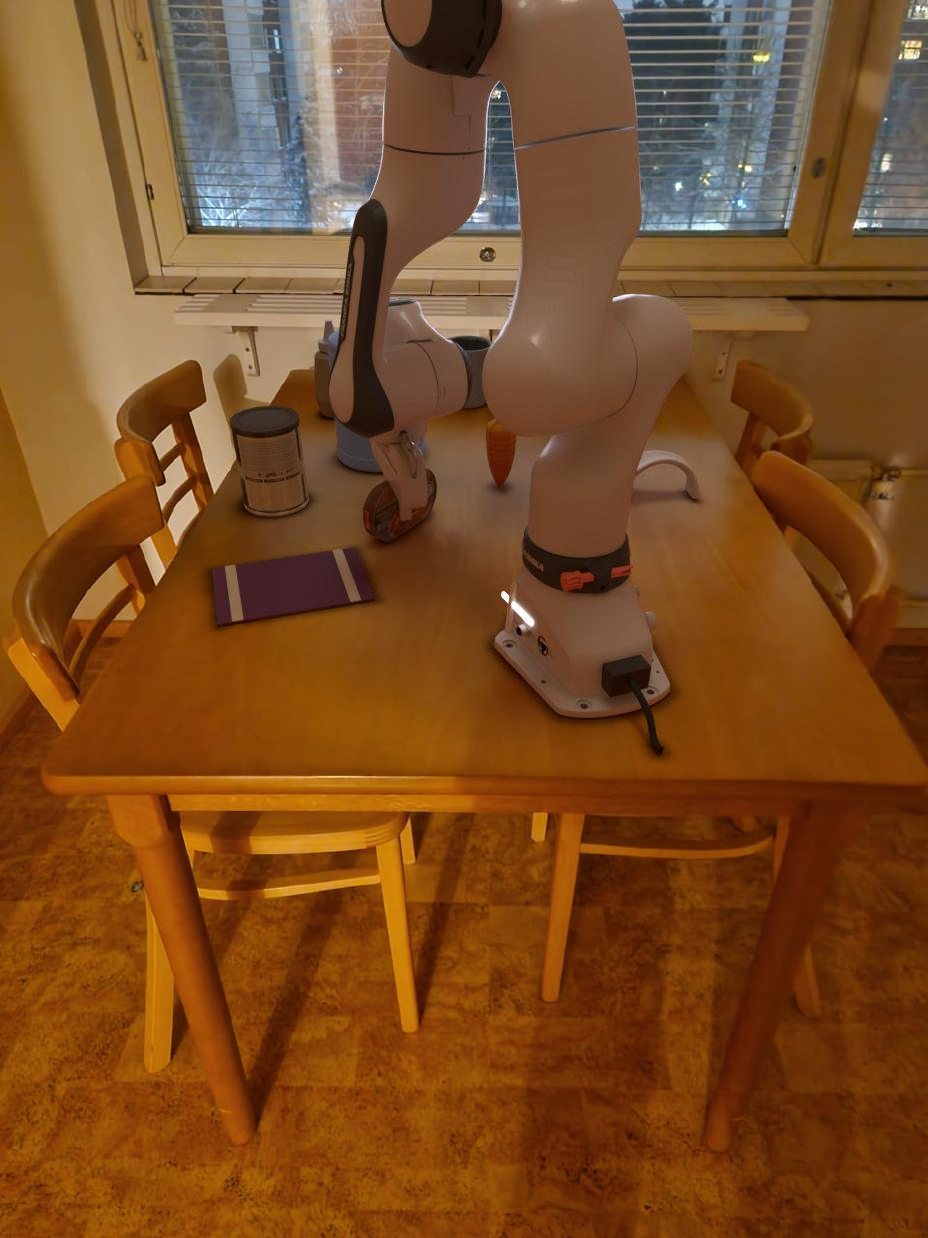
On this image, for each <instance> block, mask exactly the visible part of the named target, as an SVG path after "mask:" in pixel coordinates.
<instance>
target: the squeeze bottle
mask: <svg viewBox="0 0 928 1238" xmlns="http://www.w3.org/2000/svg"><path fill="white" fill-rule="evenodd" d="M335 331H336V330H335V327H334V323H333V320H332V319H325V320H324V328H323V337H321V338H319V339H318V341H317V347H318V350H317V351H316V352H315V353H314V358H313V359H314V363H313V364H314V368H313V369H314V400H315V401H316V404H317V406H318V408H319V410H320V412H321V415H322V416H323V417H326V418H331V419H335V417H334V414H333V412H332V409H331V405H330V401H329V394H328V383H329V376H330V366H329V362H328V338H329V336H330V335H331V334H332V333H333V332H335Z"/></svg>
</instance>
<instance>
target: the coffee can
mask: <svg viewBox="0 0 928 1238" xmlns="http://www.w3.org/2000/svg"><path fill="white" fill-rule="evenodd" d="M300 421H301V420H300V414H299V412H298V411H297V410H295V409H293V408H290V407H286V406H281V405H261V406H254V407H249V408H246V409H242V410H240V411H237V412H235V413H234V414H233V415H232V416H231V417H230V418H229V421H228V422H229V427H230V429H231V434H232V439H233V445H234V446H233V447H234V453H235V459H236V463H237V469H238V474H239V481H240V487H241V493H242V498H243V506H244V508H245V510H246V511H247V512H248V513H250V514H252V515H255V516H258V517H268V518H272V517H274V518H275V517H284V516H288V515H292V514H294V513H297V512H299V511H300V510H302V509H304V508H306V506H307V505H308V504H309V502H310V497H309V491H308V484H307V474H306V468H305V460H304V452H303V451H304V449H303V444H302V443H303V442H302V435H301V427H300Z"/></svg>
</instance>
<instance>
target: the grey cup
mask: <svg viewBox="0 0 928 1238" xmlns="http://www.w3.org/2000/svg"><path fill="white" fill-rule="evenodd" d="M448 339H451V340H453V341H454V342H456V343H457V344H458V345H459V346H461V348H462V349H463V350H464V351H465V352H466V353H467V355H468V357H469V359H470V361H471V365H472V372H473V382H472V389H471V394H470V397H469V399H468V401H467V403H466V404H465V406H464V407H463V408H462V409H476V408H480V407H482V406H484V405H486V404H487V403H486V400H485V397H484V393H483V387H482V370H483V364H484V360H485V356H486V354H487V352H488V350H489V348H490V347H491V345H492V344H493V342H492V340H490V339H489V338H486V337H483V336H478V335H455V336H451V337H448Z"/></svg>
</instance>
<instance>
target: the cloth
mask: <svg viewBox="0 0 928 1238" xmlns="http://www.w3.org/2000/svg"><path fill="white" fill-rule="evenodd" d="M211 577H212V587H213V596H214V603H215V604H214V605H215V613H216V623H217V627H218V628H219V627H224V626H225V627H226V626H231V625H237V624H242V623H248V622H255V621H260V620H266V619H271V618H278V617H285V616H290V615H297V614H302V613H308V612H315V611H320V610H327V609H332V608H339V607H346V606H351V605H358V604H363V603H364V604H365V603H369V602H375V601H376V597H375V595H374V593H373V590H372V588H371V586H370V585H371V584H370V583H369V580H368V578H367V575H366V573H365V570H364V568H363V565H362V563H361V561H360V557H359V556H358V553H357V550H356V548H355V547H354V546H353V547H347V548H336V549H332V550H327V551H319V552H314V553H306V554H299V555H294V556H293V555H292V556H287V557H281V558H273V559H267V560H259V561H253V562H246V563H239V564H229V565H224V566H219V567H213V568H211Z"/></svg>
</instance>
